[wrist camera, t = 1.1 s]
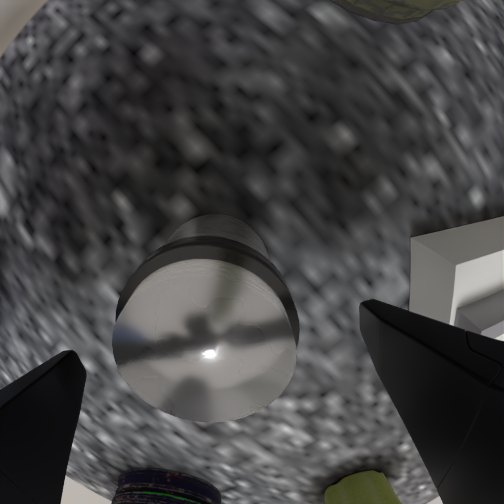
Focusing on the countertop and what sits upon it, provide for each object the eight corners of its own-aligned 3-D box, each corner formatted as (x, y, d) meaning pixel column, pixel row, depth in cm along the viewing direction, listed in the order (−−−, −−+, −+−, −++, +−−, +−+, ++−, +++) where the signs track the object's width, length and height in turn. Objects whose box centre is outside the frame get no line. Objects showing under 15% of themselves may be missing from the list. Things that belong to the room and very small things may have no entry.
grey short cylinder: (263, 196, 14) (293, 242, 7) (283, 307, 15) (314, 411, 9) (142, 222, 14) (71, 286, 7) (175, 327, 15) (146, 432, 9)
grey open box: (515, 213, 14) (582, 240, 9) (488, 367, 19) (526, 410, 13) (410, 237, 14) (485, 284, 9) (397, 408, 19) (429, 468, 13)
